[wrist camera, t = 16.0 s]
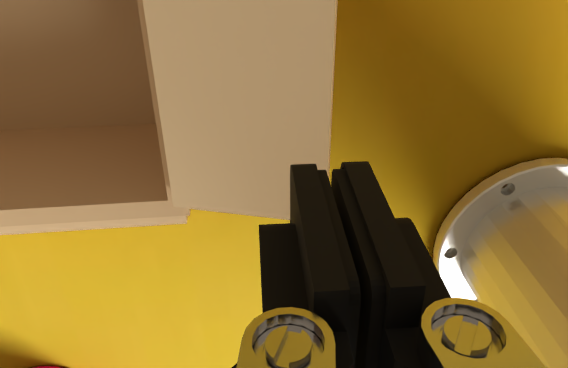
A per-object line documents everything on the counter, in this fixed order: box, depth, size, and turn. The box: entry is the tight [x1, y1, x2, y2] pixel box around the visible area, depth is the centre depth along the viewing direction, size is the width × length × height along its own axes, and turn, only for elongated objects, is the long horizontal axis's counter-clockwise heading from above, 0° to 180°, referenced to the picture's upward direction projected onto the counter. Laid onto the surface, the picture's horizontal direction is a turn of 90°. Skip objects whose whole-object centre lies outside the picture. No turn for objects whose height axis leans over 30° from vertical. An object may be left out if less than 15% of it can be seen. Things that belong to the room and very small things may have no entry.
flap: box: [143, 0, 338, 220], centre depth 17 cm, size 1×10×6 cm
